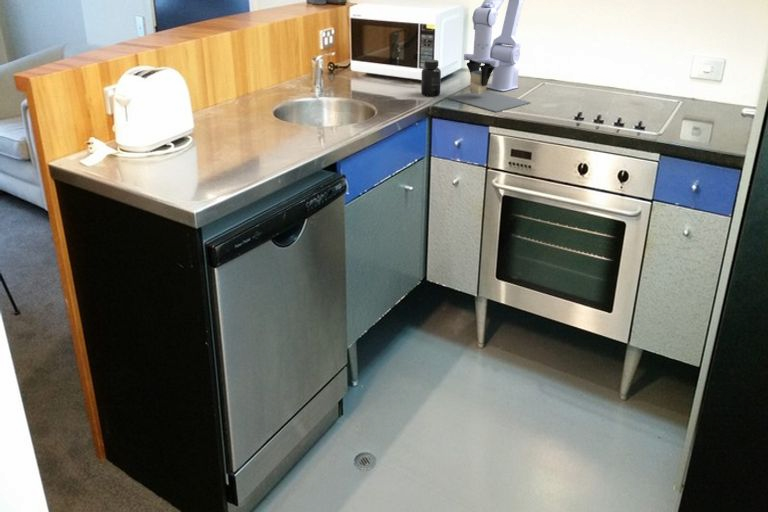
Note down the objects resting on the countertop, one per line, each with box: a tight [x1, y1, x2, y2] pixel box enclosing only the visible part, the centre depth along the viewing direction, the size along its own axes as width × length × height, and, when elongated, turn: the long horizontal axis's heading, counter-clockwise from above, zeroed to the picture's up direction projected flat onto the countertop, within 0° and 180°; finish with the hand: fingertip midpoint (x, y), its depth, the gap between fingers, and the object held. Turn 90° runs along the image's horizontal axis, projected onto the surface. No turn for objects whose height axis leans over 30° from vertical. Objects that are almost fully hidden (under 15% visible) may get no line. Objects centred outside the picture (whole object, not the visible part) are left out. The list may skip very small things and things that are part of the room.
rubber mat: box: [448, 90, 531, 113], centre depth 248 cm, size 18×22×1 cm
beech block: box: [469, 69, 488, 94], centre depth 249 cm, size 4×4×7 cm
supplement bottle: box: [420, 59, 442, 98], centre depth 252 cm, size 7×7×12 cm
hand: (479, 84), depth 249 cm, fingers closed on beech block, 4 cm apart
